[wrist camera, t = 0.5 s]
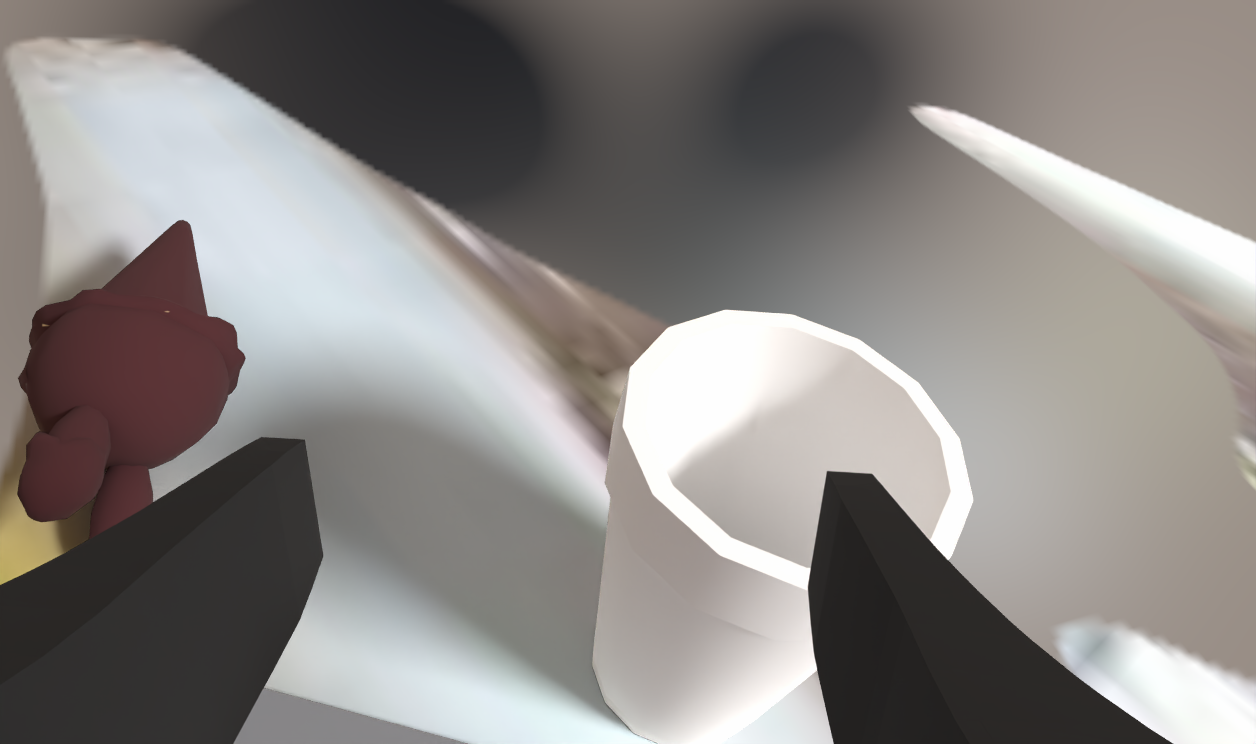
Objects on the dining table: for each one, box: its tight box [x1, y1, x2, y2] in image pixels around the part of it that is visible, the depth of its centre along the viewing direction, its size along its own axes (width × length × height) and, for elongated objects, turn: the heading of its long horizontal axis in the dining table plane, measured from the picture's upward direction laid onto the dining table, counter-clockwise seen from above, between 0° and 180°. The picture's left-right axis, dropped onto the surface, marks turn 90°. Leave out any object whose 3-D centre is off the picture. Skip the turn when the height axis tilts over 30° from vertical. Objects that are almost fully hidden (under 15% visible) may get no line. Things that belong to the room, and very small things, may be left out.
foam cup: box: [592, 310, 973, 744], centre depth 28 cm, size 10×9×13 cm
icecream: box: [17, 220, 246, 539], centre depth 33 cm, size 7×7×15 cm
